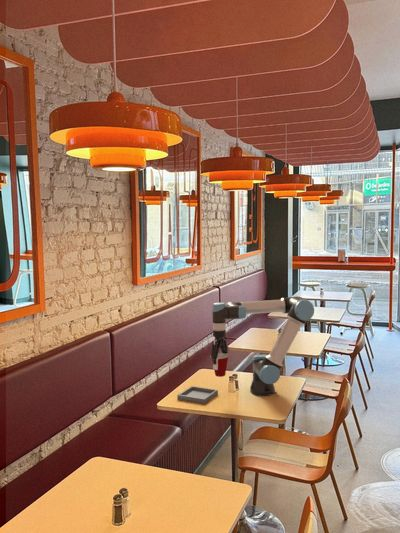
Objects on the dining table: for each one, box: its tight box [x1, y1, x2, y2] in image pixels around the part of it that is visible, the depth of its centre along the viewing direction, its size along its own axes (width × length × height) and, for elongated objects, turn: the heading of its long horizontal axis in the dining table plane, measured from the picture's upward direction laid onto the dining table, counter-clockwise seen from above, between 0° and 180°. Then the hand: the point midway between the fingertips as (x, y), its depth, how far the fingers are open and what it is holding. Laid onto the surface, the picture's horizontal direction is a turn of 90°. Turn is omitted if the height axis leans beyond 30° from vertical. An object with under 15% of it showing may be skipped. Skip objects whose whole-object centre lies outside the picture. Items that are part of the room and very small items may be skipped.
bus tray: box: [177, 385, 219, 405], centre depth 297 cm, size 18×18×3 cm
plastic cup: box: [210, 352, 230, 378], centre depth 286 cm, size 11×11×12 cm
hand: (219, 366), depth 286 cm, fingers closed on plastic cup, 11 cm apart
